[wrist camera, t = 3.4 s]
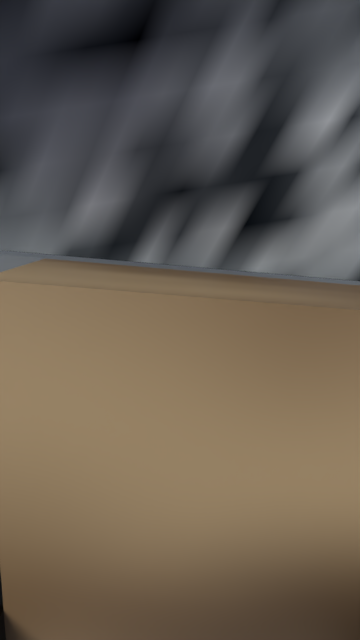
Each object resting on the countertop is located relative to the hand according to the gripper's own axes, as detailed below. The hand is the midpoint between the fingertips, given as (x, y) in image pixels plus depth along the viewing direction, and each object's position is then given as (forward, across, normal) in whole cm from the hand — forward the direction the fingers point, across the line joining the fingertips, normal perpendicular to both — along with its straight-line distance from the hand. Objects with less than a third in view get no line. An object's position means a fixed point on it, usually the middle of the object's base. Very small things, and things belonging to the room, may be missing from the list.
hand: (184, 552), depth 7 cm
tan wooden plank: (0, 0, 0) cm, 0 cm away
